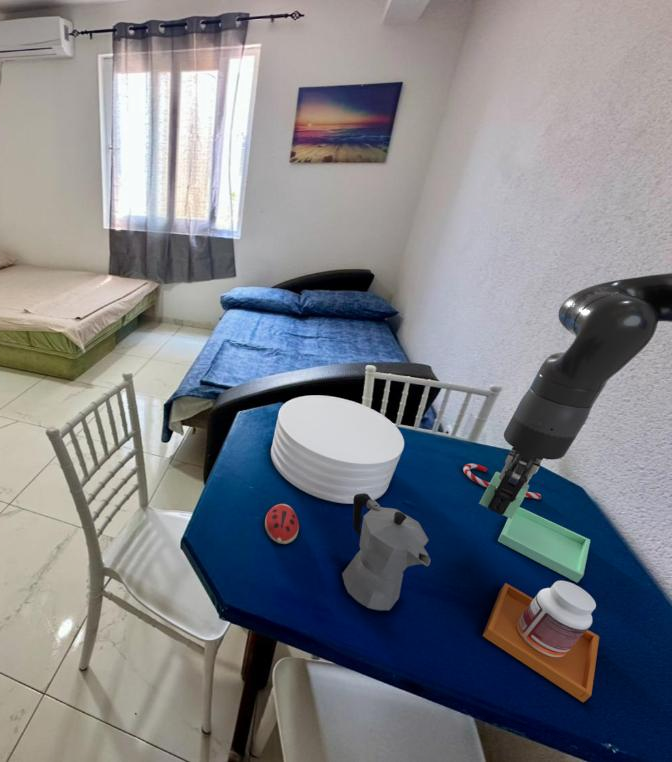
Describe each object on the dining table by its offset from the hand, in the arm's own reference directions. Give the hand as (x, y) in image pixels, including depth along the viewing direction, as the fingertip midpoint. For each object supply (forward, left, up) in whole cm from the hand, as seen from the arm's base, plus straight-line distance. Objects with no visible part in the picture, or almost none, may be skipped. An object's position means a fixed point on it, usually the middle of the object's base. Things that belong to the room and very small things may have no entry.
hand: (499, 503), depth 70 cm
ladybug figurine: (+28, +19, -16) cm, 37 cm away
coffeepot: (+11, +18, -16) cm, 27 cm away
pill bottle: (-12, +7, -16) cm, 21 cm away
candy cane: (+1, -33, -16) cm, 37 cm away
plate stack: (+32, -8, -16) cm, 37 cm away
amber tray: (-12, +7, -16) cm, 21 cm away
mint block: (0, 0, 0) cm, 0 cm away
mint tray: (-9, -18, -16) cm, 26 cm away
